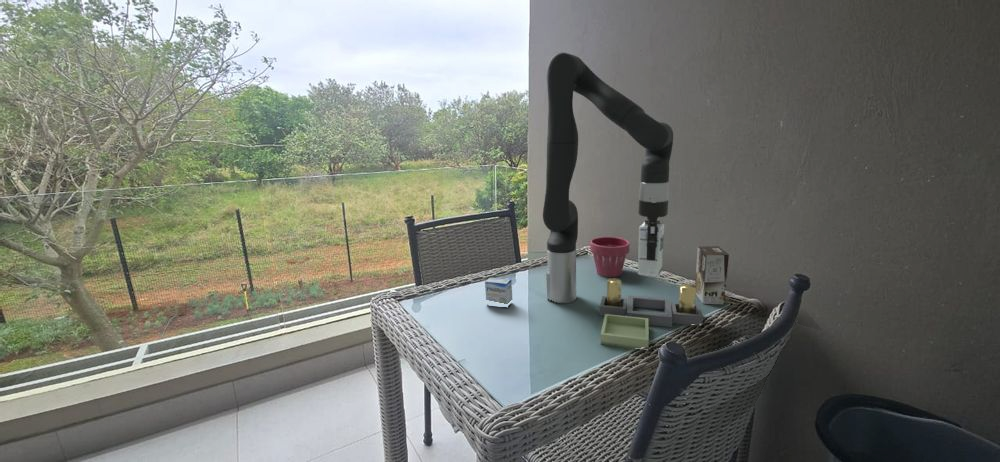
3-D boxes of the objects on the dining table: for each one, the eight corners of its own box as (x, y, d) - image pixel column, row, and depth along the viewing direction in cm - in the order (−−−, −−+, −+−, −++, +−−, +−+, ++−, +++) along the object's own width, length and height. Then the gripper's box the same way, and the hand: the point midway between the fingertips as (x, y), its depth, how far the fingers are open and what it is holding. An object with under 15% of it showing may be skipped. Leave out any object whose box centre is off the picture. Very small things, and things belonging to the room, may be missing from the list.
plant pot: (635, 271, 147) (636, 239, 143) (618, 283, 137) (618, 249, 134) (601, 264, 156) (601, 234, 153) (583, 274, 147) (583, 243, 143)
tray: (600, 344, 99) (600, 334, 98) (604, 323, 110) (605, 313, 109) (648, 350, 95) (648, 340, 94) (648, 328, 106) (648, 318, 105)
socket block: (598, 318, 112) (598, 309, 112) (603, 301, 123) (603, 293, 122) (703, 330, 103) (704, 320, 102) (697, 310, 113) (698, 301, 113)
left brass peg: (606, 313, 115) (606, 282, 113) (607, 307, 119) (607, 277, 116) (620, 315, 114) (620, 284, 111) (620, 309, 118) (621, 278, 115)
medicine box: (486, 306, 125) (484, 281, 123) (491, 300, 129) (489, 276, 127) (508, 308, 122) (506, 283, 120) (513, 303, 126) (511, 278, 124)
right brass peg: (678, 321, 108) (680, 288, 106) (677, 314, 112) (679, 283, 109) (694, 322, 107) (696, 289, 104) (692, 316, 110) (695, 284, 108)
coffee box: (725, 304, 116) (730, 254, 112) (702, 304, 117) (706, 254, 113) (715, 292, 125) (719, 245, 121) (693, 292, 126) (697, 245, 122)
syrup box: (658, 277, 106) (661, 227, 102) (636, 274, 109) (638, 225, 105) (662, 271, 110) (665, 222, 107) (641, 268, 114) (643, 221, 110)
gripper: (639, 193, 112) (637, 247, 116) (638, 203, 99) (636, 263, 103) (667, 193, 109) (663, 249, 113) (670, 203, 96) (666, 265, 101)
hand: (650, 255), depth 108 cm, fingers closed on syrup box, 6 cm apart
